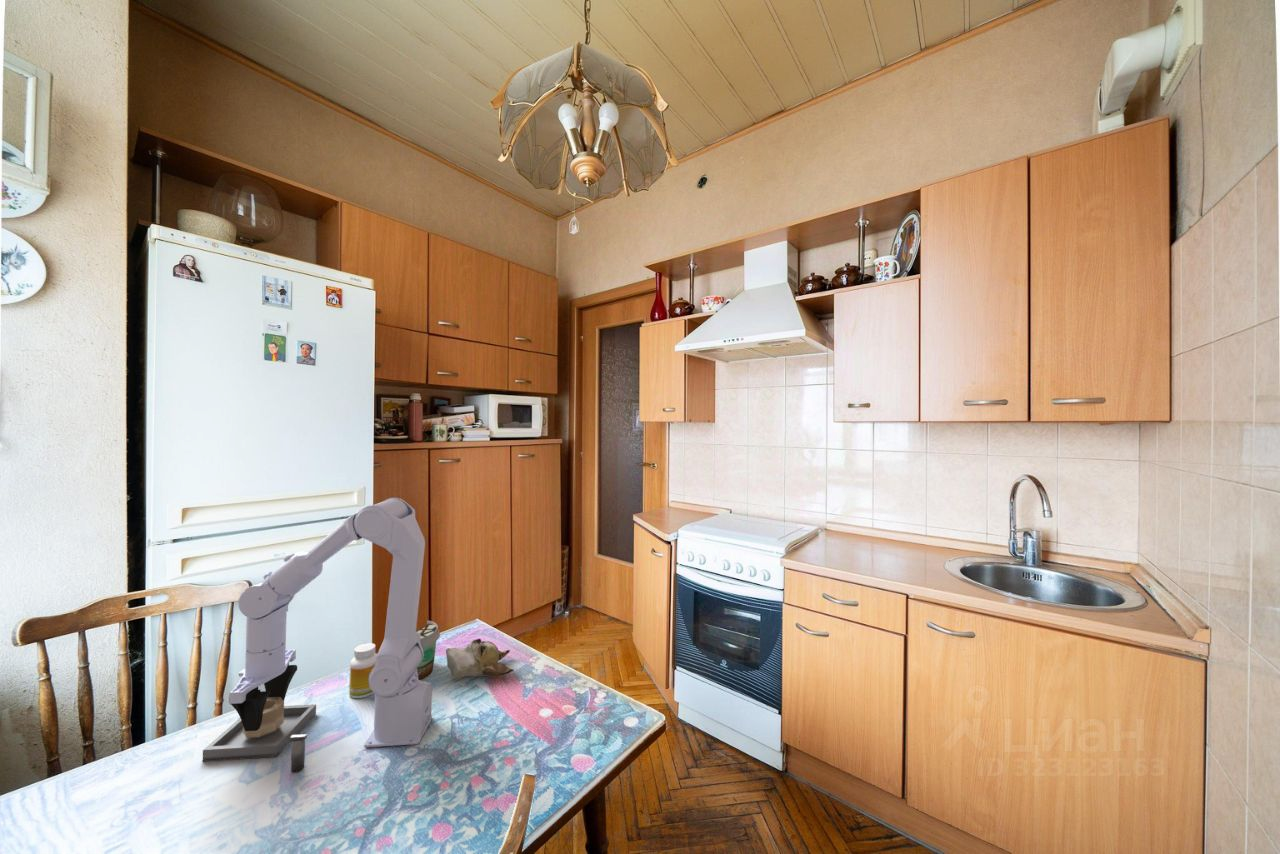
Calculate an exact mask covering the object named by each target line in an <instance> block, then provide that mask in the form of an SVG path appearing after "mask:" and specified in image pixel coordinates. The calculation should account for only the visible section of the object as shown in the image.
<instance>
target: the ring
mask: <svg viewBox="0 0 1280 854" xmlns="http://www.w3.org/2000/svg"><path fill="white" fill-rule="evenodd" d="M284 706H285V700H284V701H283V699H282V698H281V697H267V700H266V702H265V705H264V709H263V716H262V723H261V726H260V728H259V729H258V730H257V731H245V730H244V727H243V733H244V735H245V737H246V738H252V737H261V736H264V735H266V734H268V733H271V732H273V731H276V730H277V729H278V728H279V727H280V726H281V725H282V724H283V723H284Z"/></svg>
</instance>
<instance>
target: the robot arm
mask: <svg viewBox="0 0 1280 854" xmlns="http://www.w3.org/2000/svg"><path fill="white" fill-rule="evenodd" d="M362 539H365V540H366V541H368V542H371V543H373V544H375V545H377V546H380V547H382V548H384V549H386V550H387V551H388V552H389V553H390V554H391V555H392V563H391V572H390V583H389V592H388V599H387V601H388V602H387V610H386V619H385V620H386V621H385V627H384V629H385V630H384V638H383V641H382V643H381V645H380V648H379V650H378V652H377V653H376V654H377V657H376V664H375V666H374V668H373V669H372V671H371V672H370V675H369V686H370V688H371V690H372V691H373V692H374V693H373V694H374V714H373V715H374V716H373V717H374V718H373V720H374V721H373V725H374V726H373V730H372V732H371V734H370V735H369V737H367V739H366V741H365V742H364V744H363V747H364V748H373V747H391V746H392V747H394V746H407V745H408V746H409V745H418V744H419V743H420V742H421V740H422V738H423V736H424V734H425V732H426V730H427V728H428V726H429V724H430V722H431V721H432V719H433V714H432V703H433V702H432V701H433V686H432V683H431V682H426V681H423V680H418V674H417V667H418V666H419V665H420V664H421V662H422V660H423V656H424V653H423V649H422V646H421V644H420V637H421V635H420V634H419V633H417V632H416V631H417V625H418V614H419V605H420V595H421V587H422V586H421V585H422V576H423V570H424V569H423V567H424V558H425V557H424V556H425V549H426V540H425V537H424V535H423V533H422V530H421V528H420V525H419V524H418V521H417V519H416V509H415V508H414V507H412V506H411V505H410V504H409V503H407V502H406V501H405V500H404V499H403V498H400V497H399V498H398V497H390V498H386V499H385V500H383V501H381V502H378V503H376V504H375V503H374V504H371V505H370V504H369V505H366V506H364V507H362V508H360V510H359V511H357V512H356V513H354V514H352V515H350V516H349V517H347V518H346V519H345V520H344V521H343V522H342V523H341V524H339V525H338V526H337V527H336V528H334V530H332V531H331V532H330V533H329V534H328V535H327V536H325V537H324V538H323V539H322V540H321V541H320V542H319V543H317V545H315V546H314V547H313V548H312V549H310V550H309V551H298V552H296V553H291V554H289V555H287V556H285V557H284V558H283V561H284V563H282V564H281V565H280V566H279V567H277V568H276V569H275V570H274V571H270V572H267V573H266V574H264V575H263V576H262V578H263V580H262V582H260V583H257V584H254V585H251V586H248V587H246V589H245V590H244V591H243V592H242V594H241V595H240V596H239V598H238V608H239V611H240V613H241V614H242V615H244V616H245V617H246V630H245V632H246V633H245V665H244V666H245V668H243V669H241V670H240V671H239V672H238V677H241V678H240V679H239V681H238V682H237V684H236V685H235V687H234V688H233V689H232V690H231V691H230V692H229V694H228V704H229V705H231V706H232V707H233V708H234V709H235V711H236V713H237V714H238V716H239V719H240V718H241V721H242V724H243V727H244V730H245V731H257V730H258V729H259V728H260V726H261V723H262V716H263V709H264V705H265V702H266V700H267V697H281V698H282V699H283V701H284V702H285V698H286V696H287V691H288V688H289V686H290V685H291V682H292V679H293V677H294V676H295V674H296V673H297V671H298V665H297V664H290V663H292V662H294V661H295V660H297V659H296V658H297V656H296V655H297V650H296V649H287V648H286V647H287V646H286V645H287V643H286V642H287V641H286V640H287V612H289V604H290V603H291V602H292V600H293V599H294V597H295V595H296V594H298V593H299V592H300V591H302V589H304V588H305V587H306V586H308V585H309V584H310V583H311V582H313V581H314V580H315V579H317V577H319V576H320V575H322V572H323V567H324V566H323V564H324V563H325V562H327V561H328V560H329V559H331V558H332V557H333V556H334V555H336V554H338V553H339V552H340V551H341V550H343V549H344V548H345V547H347V546H348V545H349V544H350V543H352V542H353V541H359V540H362ZM262 685H264V689H265V690H264V691H263V690H262V691H261V688H260V689H259V687H260V686H262Z"/></svg>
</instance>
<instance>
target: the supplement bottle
mask: <svg viewBox="0 0 1280 854" xmlns="http://www.w3.org/2000/svg"><path fill="white" fill-rule="evenodd" d="M376 649H377V648H376V644H375V643H374V642H373V643H370V642H369V643H368V642H367V643H362V644H359V645H358V646H357V645H356V647H355V648H354V650H353V656H354V657H353V658H352V659H351V660H350V662H349V663H350V664H349V683H348V684H349V685H348V687H349V688H348V689H349V690H348V693H349V694H348V695H349V697H351V698H353V699H364V698H366V697H367V698H368V697H369V696H372V695H373V694H375V693H374V692H373V691H372V690H371V688H370V686H369V675H370V672H371V671H372V669H373V668H374V666H375V664H376V657H377V654H378V653H376Z"/></svg>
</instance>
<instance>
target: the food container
mask: <svg viewBox="0 0 1280 854" xmlns="http://www.w3.org/2000/svg"><path fill="white" fill-rule="evenodd" d="M416 632H417V633H419V634H420V635H421V637H420V644H421V646H422V649H423V653H424V656H423V660H422V662H421V664H420V665H419V666H418V667H417V674H418V680H420V681H423V680H425V679H427V678H428V677H430V676H431V675H432V673H433V672H434V666H435V665H434V664H435V657H436V650H437V649H436V647H437V642H438V640H439V638H440V636H441V633H440V627H439V626H438V624H437V623H436V622H434V621H431V620H427V622H426V624H425V625H424V626H423V627H421V628H420V629H416Z"/></svg>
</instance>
